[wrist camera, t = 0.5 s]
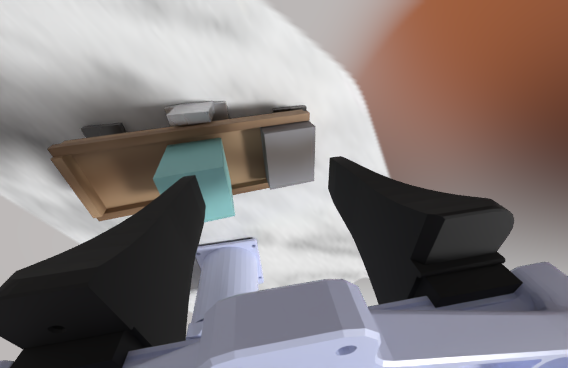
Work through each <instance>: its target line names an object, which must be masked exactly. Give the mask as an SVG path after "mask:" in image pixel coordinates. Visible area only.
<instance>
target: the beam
mask: <svg viewBox="0 0 568 368" xmlns="http://www.w3.org/2000/svg"><path fill="white" fill-rule="evenodd" d="M309 116H310V113H309V112H308V111H303V110H302V109H301V110H293V111H286V112H278V113H271V114H263V115H256V116H248V117H241V118H233V119H226V120H218V121H211V122H206V123H196V124H188V125H180V126H173V127H165V128H158V129H150V130H143V131H135V132H128V133H120V134H113V135H105V136H98V137H90V138H82V139H75V140H67V141H64V142H63V143H61V144H55V145H52V146H51V147H49V148H48V151H49V152H50V154H51V155H52V156H53V158H51V161H52V162H53V163H54V165H55V166H56V168H57V169H58V170H59V172H60V173H61V174H62V176H63V177H64V179H65V180H66V181H67V183H68V184H69V185H70V187H71V188H72V189H73V191H74V192H75V194H76V195H77V196H78V198H79V199H80V200H81V202H82V203H83V205H84V206H85V207H86V209H87V210H88V211H89V213H90V214H91V216H92V217H93V218H97V219H98V221H103V220H108V219H113V218H118V217H123V216H128V215H134V214H135V213H137V212H138V211H140V210H141V209H143V208H144V207H145V206H147V205H148V204H149V203H150V202H152V201H153V200H154V199H156V198H157V197H158V196H160V193H159V191H158V189H157V187H156V185H155V183H154V180H153V177H154V175H155V173H156V170H157V168H158V166H159V163H160V161H161V159H162V157H163V154H164V152H165V150H166V147H167V145H173V144H180V143H187V142H193V141H200V140H207V139H214V138H221V140H222V144H223V149H224V153H225V157H226V162H227V166H228V171H229V175H230V179H231V188H232V195H235V194H240V193H245V192H250V191H256V190H261V189H266V188H270V190H271V189H276V188H281V187H286V186H291V185H296V184H301V183H306V182H311V181H314V161H315V126H314V125H313V124H312V123H311V122H309V121H308V120H309Z"/></svg>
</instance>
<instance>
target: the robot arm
mask: <svg viewBox="0 0 568 368" xmlns="http://www.w3.org/2000/svg"><path fill="white" fill-rule="evenodd" d="M328 189H329V192H330V195H331V198H332V200H333V203H334V205H335V206H336V208H337V210H338V212H339V214H340V215H341V217H342V219H343V221H344V222H345V224H346V226H347V228H348V229H349V231H350V233H351V235H352V237H353V239H354V241H355V243H356V246H357V248H358V250H359V253H360V255H361V258H362V260H363V263H364V265H365V268H366V270H367V273H368V276H369V278H370V281H371V284H372V286H373V289H374V292H375V295H376V298H377V301H378V304H379V305H374V306H369V307H367V305H366V302H365V300H364V298H363V296H362V294H361V291H360V289H359V287H358V286H357V285H355V284H353V283H350V282H348V281H346V280H343V279H323V280H318V281H312V282H306V283H300V284H295V285H289V286H283V287H277V288H271V289H266V290H260V291H258V284H261V283H263V282H264V278H263V273H262V267H261V262H260V256H259V251H258V245H257V240H256V239H247V240H240V241H233V242H226V243H219V244H212V245H205V246H198V244H199V241H200V237H201V233H202V229H203V225H204V220H205V210H206V205H205V202H204V199H203V196H202V193H201V190H200V187H199V184H198V181H197V178H196V175H191V176H184V177H182V178H180V179H179V180H178V181H177V182H175V183H174V184H173V185H172V186H170V187H169V188H168V189H167V190H166V191H164V192H163V193H162V194H161V195H160V196H158V197H157V198H156V199H154V200H153V201H152V202H150V203H149V204H148V205H147V206H145V207H144V208H143V209H141V210H140V211H138V212H137V213H135V214H134V215H133V216H131V217H129V218H128V219H126V220H125V221H123V222H122V223H120V224H118V225H117V226H115V227H113V228H111V229H109V230H107V231H106V232H104V233H102V234H100V235H98V236H96V237H95V238H93V239H91V240H89V241H87V242H84V243H82V244H80V245H78V246H76V247H74V248H72V249H69V250H67V251H65V252H63V253H61V254H59V255H56V256H54V257H51V258H48V259H46V260H44V261H41V262H38V263H36V264H34V265H31V266H29V267H26V268H23V269H21V270H18V271H16V272H15V273H14V274H13V275H12V276H11V277H10V278H9V279H8V280H7V281H6V282H5V283H4V284H3V285H2V286H1V287H0V337H2V338H4V339H6V340H8V341H9V342H11V343H13V344H15V345H17V346H18V347H20V348H22V349H23V351H22V352H21V353H20V355H19V356H18V357H17V359H16V360H15V362H14V361H6V360H3V361H0V368H568V276H567V275H565V274H564V273H563V272H561V271H560V270H559V269H557V268H556V267H554V266H553V265H552V264H550V263H549V262H541V263H535V264H530V265H525V266H520V267H517V268H514V269H513V270H511V271H509V270H508V269H507V268H506V267H505V266H504V265H502V264H501V263H504V262H505V258H504V257H503V256H502V255H500V254H499V253H498V252H497V251H498V249H499V248H500V246H501V245H502V244H503V242H504V241H505V239H506V238H507V236H508V235H509V234H510V231H511V230H512V228H513V224H514V217H513V214H512V213H511V212H510V211H508V210H507V209H505V208H504V207H502V206H501V205H499V204H498V203H496V202H495V201H493V200H492V199H488V198H479V197H470V196H461V195H455V194H449V193H443V192H438V191H433V190H428V189H424V188H420V187H416V186H412V185H409V184H405V183H402V182H399V181H396V180H393V179H390V178H388V177H385V176H383V175H380V174H378V173H376V172H373V171H371V170H369V169H367V168H365V167H363V166H361V165H359V164H357V163H355V162H353V161H350V160H348V159H346V158H344V157H341V156H340V157H332V158H330V165H329V183H328ZM195 257H196V259H197V262H198V264H199V266H200V268H201V275H200V280H199V285H198V291H197V296H196V301H195V306H194V311H193V316H192V322H191V323H190V324H189V326H188V331H187V335H186V324H187V314H188V303H189V295H190V286H191V278H192V271H193V265H194V260H195Z"/></svg>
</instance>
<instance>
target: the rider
mask: <svg viewBox="0 0 568 368" xmlns="http://www.w3.org/2000/svg"><path fill="white" fill-rule="evenodd" d="M191 175H196V178H197V181H198V184H199V187H200V190H201V193H202V196H203V199H204V202H205V205H206V210H205V220H204V222H208V221H213V220H217V219H222V218H227V217H231V216H235V212H234V204H233V196H232V188H231V179H230V175H229V171H228V166H227V162H226V157H225V153H224V149H223V144H222V140H221V138H214V139H207V140H200V141H193V142H187V143H180V144H173V145H167V147H166V150H165V152H164V154H163V157H162V159H161V161H160V163H159V166H158V168H157V170H156V173H155V175H154V177H153V180H154V183H155V185H156V187H157V189H158V191H159V193H160V195H161V194H162V193H163V192H164V191H166V190H167V189H168V188H169V187H170V186H172V185H173V184H174V183H175V182H177V181H178V180H179V179H180V178H182V177H184V176H191Z"/></svg>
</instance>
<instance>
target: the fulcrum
mask: <svg viewBox="0 0 568 368" xmlns="http://www.w3.org/2000/svg"><path fill="white" fill-rule="evenodd" d="M301 109H302V110H303V111H306V106H296V107H285V108H274V109H273V113H278V112H286V111H293V110H301ZM164 110H165V112H166V116H167V119H168V122H169V125H170V127H173V126H180V125H188V124H196V123H206V122H211V121H218V120H226V119H229V115H228V110H227V105H226V101H222V102H214V101H209V102H197V103H186V104H177V105H176V106H167V107H165V108H164ZM81 130H82V132H83V134H84V135H85V137H86V138H90V137H98V136H105V135H113V134H120V133H126V131H125V129H124V127H123V125H122V123H115V124H105V125H94V126H84V127H82V128H81Z"/></svg>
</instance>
